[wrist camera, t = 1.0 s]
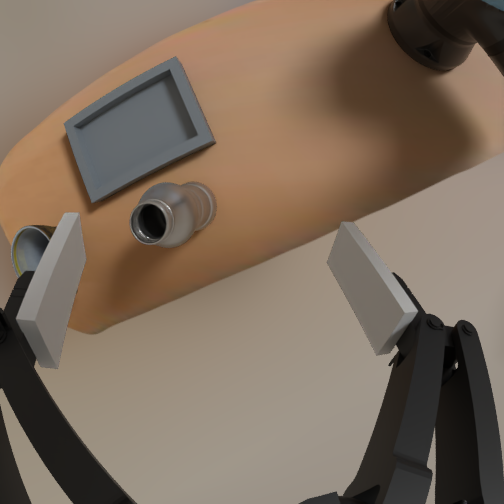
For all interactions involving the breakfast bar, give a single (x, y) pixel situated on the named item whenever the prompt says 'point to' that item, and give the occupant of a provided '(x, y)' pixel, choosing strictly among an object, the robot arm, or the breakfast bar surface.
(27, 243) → the ceramic cup
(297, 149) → the breakfast bar surface
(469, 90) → the breakfast bar surface
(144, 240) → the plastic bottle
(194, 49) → the breakfast bar surface
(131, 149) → the tray
